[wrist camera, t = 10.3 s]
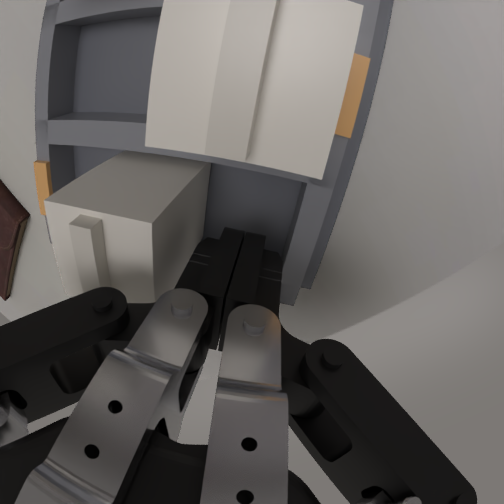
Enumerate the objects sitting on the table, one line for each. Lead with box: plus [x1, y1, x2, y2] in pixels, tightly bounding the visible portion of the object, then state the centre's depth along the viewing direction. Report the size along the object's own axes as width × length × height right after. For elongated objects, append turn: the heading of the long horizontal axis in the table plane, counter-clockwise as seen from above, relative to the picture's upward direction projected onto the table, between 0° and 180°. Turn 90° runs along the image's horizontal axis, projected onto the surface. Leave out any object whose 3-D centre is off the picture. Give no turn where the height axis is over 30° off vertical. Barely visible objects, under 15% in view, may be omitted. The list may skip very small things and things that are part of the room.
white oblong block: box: [44, 150, 211, 303], centre depth 11 cm, size 4×4×7 cm
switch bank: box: [34, 0, 394, 306], centre depth 10 cm, size 16×20×4 cm
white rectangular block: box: [145, 0, 364, 180], centre depth 7 cm, size 4×4×7 cm
